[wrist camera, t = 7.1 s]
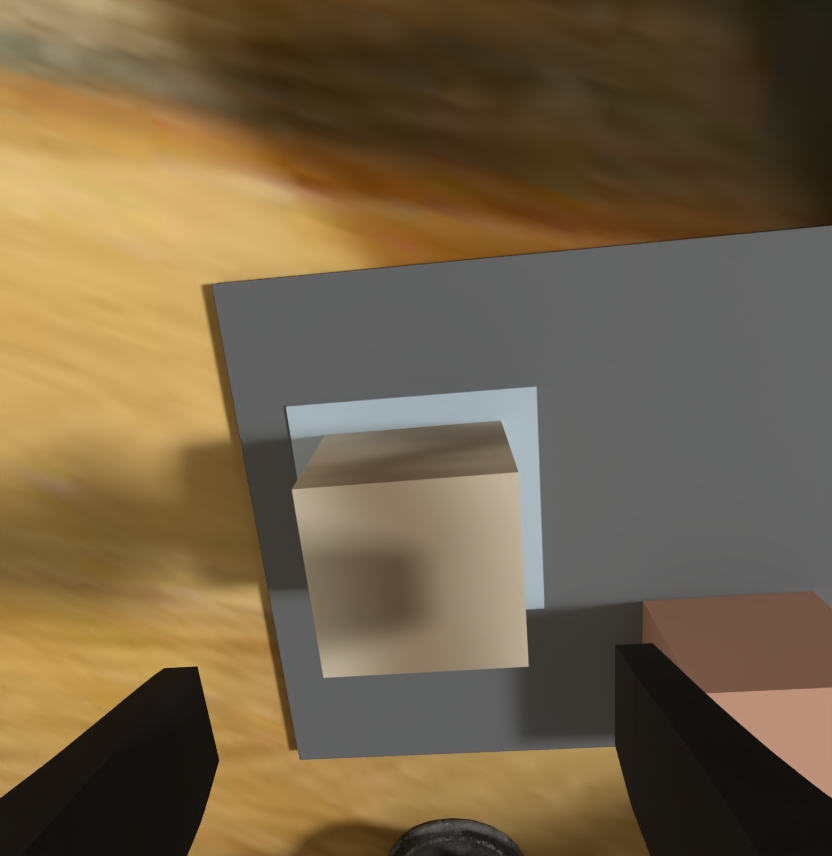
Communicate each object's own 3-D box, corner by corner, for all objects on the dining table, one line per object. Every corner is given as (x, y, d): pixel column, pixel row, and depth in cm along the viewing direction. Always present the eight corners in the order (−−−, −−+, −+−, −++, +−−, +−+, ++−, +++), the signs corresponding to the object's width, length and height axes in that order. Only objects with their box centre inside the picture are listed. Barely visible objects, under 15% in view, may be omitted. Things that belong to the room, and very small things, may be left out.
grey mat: (986, 210, 15) (1004, 209, 15) (900, 724, 20) (911, 736, 19) (217, 283, 17) (210, 284, 16) (302, 750, 21) (299, 762, 21)
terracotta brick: (812, 591, 18) (911, 683, 14) (798, 726, 20) (884, 843, 16) (642, 600, 19) (695, 694, 15) (640, 733, 20) (688, 849, 16)
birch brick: (500, 420, 17) (518, 472, 13) (510, 578, 18) (528, 666, 15) (324, 435, 17) (291, 489, 13) (347, 589, 19) (323, 678, 15)
